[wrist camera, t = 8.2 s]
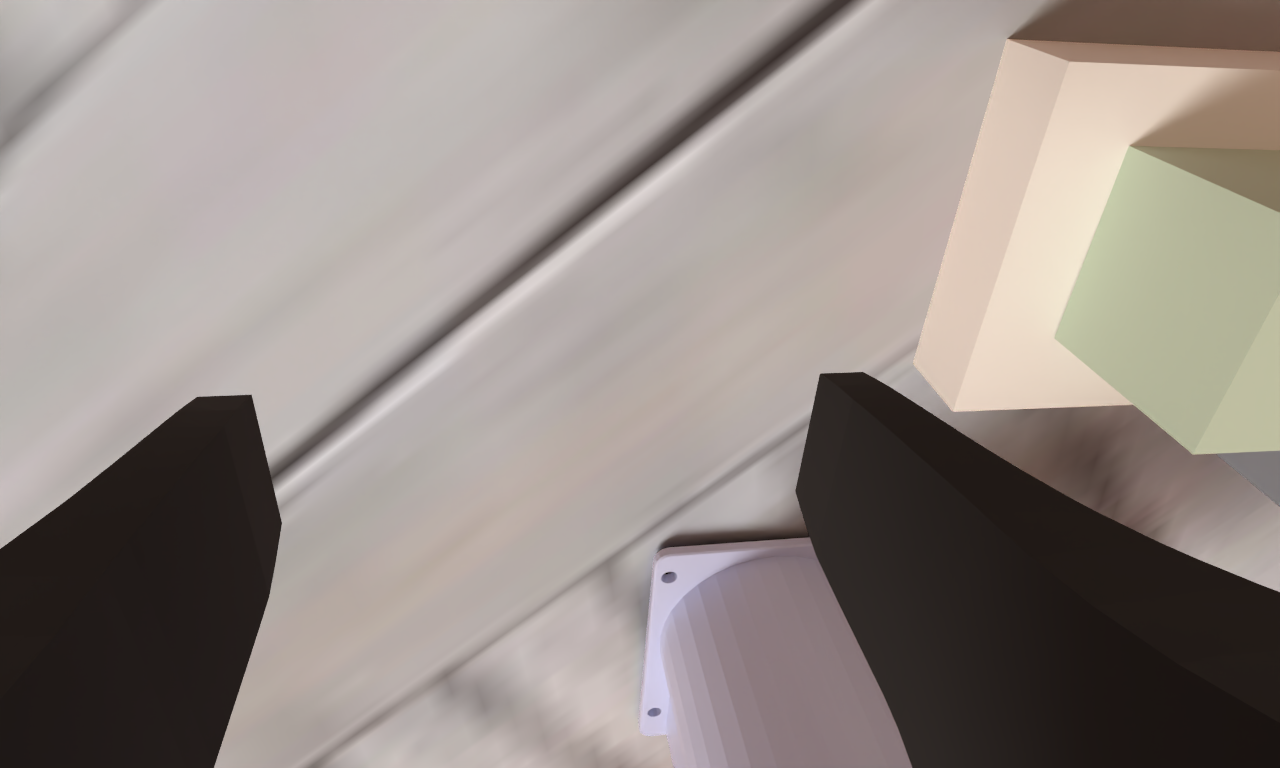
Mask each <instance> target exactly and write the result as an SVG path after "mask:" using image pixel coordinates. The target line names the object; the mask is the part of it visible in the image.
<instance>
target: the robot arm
mask: <svg viewBox="0 0 1280 768" xmlns="http://www.w3.org/2000/svg"><path fill="white" fill-rule="evenodd" d="M796 495H797V498H798V501H799V504H800V508H801V511H802V514H803V518H804V521H805V524H806V528H807V530H808V533H809V536H810V537H807V538H793V539H779V540H765V541H751V542H738V543H724V544H710V545H696V546H682V547H669V548H664V549H662V550H660V551H659V552H658V553H657V554H656V555H655V556H654V559H653V568H652V579H651V590H650V601H649V611H648V622H647V633H646V643H645V654H644V665H643V676H642V686H641V697H640V708H639V718H638V724H639V729H640V732H641V733H642V734H643V735H646V736H657V735H666V734H667V739H668V743H669V748H670V753H671V758H672V763H673V767H674V768H1280V592H1278V591H1275V590H1272V589H1270V588H1267V587H1264V586H1262V585H1259V584H1257V583H1254V582H1252V581H1249V580H1247V579H1245V578H1242V577H1240V576H1237V575H1235V574H1232V573H1230V572H1227V571H1225V570H1222V569H1220V568H1218V567H1215V566H1213V565H1210V564H1208V563H1205V562H1203V561H1200V560H1198V559H1196V558H1193V557H1191V556H1189V555H1186V554H1184V553H1182V552H1180V551H1177V550H1175V549H1173V548H1171V547H1168V546H1166V545H1164V544H1162V543H1159V542H1157V541H1155V540H1153V539H1151V538H1149V537H1147V536H1145V535H1143V534H1141V533H1139V532H1137V531H1135V530H1133V529H1130V528H1128V527H1126V526H1124V525H1122V524H1120V523H1118V522H1116V521H1114V520H1112V519H1110V518H1108V517H1106V516H1104V515H1102V514H1100V513H1098V512H1096V511H1094V510H1092V509H1090V508H1088V507H1086V506H1084V505H1082V504H1081V503H1079V502H1077V501H1075V500H1073V499H1071V498H1069V497H1068V496H1066V495H1064V494H1062V493H1061V492H1059V491H1057V490H1055V489H1054V488H1052V487H1050V486H1048V485H1046V484H1045V483H1043V482H1041V481H1039V480H1038V479H1036V478H1034V477H1032V476H1031V475H1029V474H1027V473H1025V472H1024V471H1022V470H1020V469H1019V468H1017V467H1015V466H1014V465H1012V464H1010V463H1009V462H1007V461H1005V460H1004V459H1002V458H1000V457H999V456H997V455H996V454H994V453H992V452H991V451H989V450H987V449H986V448H984V447H983V446H981V445H979V444H978V443H976V442H975V441H973V440H972V439H970V438H968V437H967V436H965V435H964V434H962V433H961V432H959V431H957V430H956V429H954V428H953V427H951V426H950V425H948V424H947V423H945V422H943V421H942V420H940V419H939V418H937V417H936V416H934V415H933V414H931V413H930V412H928V411H926V410H925V409H923V408H922V407H920V406H919V405H917V404H916V403H914V402H913V401H911V400H909V399H908V398H906V397H905V396H903V395H901V394H900V393H898V392H897V391H895V390H894V389H892V388H890V387H889V386H887V385H885V384H884V383H882V382H880V381H878V380H877V379H875V378H873V377H871V376H869V375H867V374H865V373H863V372H854V373H827V374H820V377H819V382H818V386H817V391H816V396H815V401H814V405H813V410H812V415H811V420H810V424H809V429H808V434H807V439H806V444H805V448H804V453H803V458H802V463H801V467H800V472H799V477H798V482H797V486H796ZM281 525H282V522H281V518H280V513H279V509H278V505H277V501H276V497H275V492H274V488H273V484H272V480H271V475H270V471H269V467H268V463H267V458H266V454H265V450H264V446H263V442H262V437H261V433H260V429H259V425H258V420H257V416H256V412H255V408H254V404H253V399H252V395H237V396H210V397H197V398H195V399H194V400H192V401H191V402H190V403H188V404H187V405H185V406H184V407H183V408H181V409H180V410H179V411H178V412H176V413H175V414H174V415H172V416H171V417H170V418H169V419H167V420H166V421H165V422H164V423H163V424H161V425H160V426H159V427H158V428H156V429H155V430H154V431H153V432H151V433H150V434H149V435H148V436H147V437H145V438H144V439H143V440H142V441H140V442H139V443H138V444H137V445H136V446H134V447H133V448H132V449H131V450H129V451H128V452H127V453H126V454H125V455H123V456H122V457H121V458H119V459H118V460H117V461H116V462H114V463H113V464H112V465H111V466H109V467H108V468H107V469H106V470H104V471H103V472H102V473H101V474H99V475H98V476H97V477H96V478H94V479H93V480H92V481H91V482H89V483H88V484H87V485H86V486H84V487H83V488H82V489H81V490H79V491H78V492H77V493H76V494H74V495H73V496H72V497H71V498H69V499H68V500H67V501H65V502H64V503H63V504H61V505H60V506H59V507H57V508H56V509H54V510H53V511H52V512H50V513H49V514H48V515H46V516H45V517H44V518H42V519H41V520H39V521H38V522H37V523H35V524H34V525H33V526H31V527H30V528H28V529H27V530H26V531H24V532H23V533H22V534H20V535H19V536H17V537H16V538H15V539H13V540H12V541H11V542H9V543H8V544H7V545H5V546H4V547H2V548H1V549H0V768H214V765H215V762H216V759H217V756H218V753H219V750H220V747H221V744H222V741H223V738H224V735H225V732H226V729H227V726H228V723H229V719H230V716H231V713H232V710H233V707H234V704H235V701H236V698H237V695H238V692H239V689H240V686H241V683H242V680H243V677H244V674H245V670H246V667H247V664H248V661H249V658H250V655H251V652H252V649H253V646H254V643H255V639H256V636H257V633H258V630H259V627H260V624H261V621H262V618H263V614H264V611H265V608H266V605H267V601H268V598H269V594H270V589H271V583H272V578H273V573H274V567H275V562H276V556H277V550H278V543H279V537H280V531H281ZM667 572H672V573H670V574H665V573H667Z"/></svg>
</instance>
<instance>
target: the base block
mask: <svg viewBox="0 0 1280 768" xmlns="http://www.w3.org/2000/svg"><path fill="white" fill-rule="evenodd" d="M1129 146H1150V147H1184V148H1218V149H1252V150H1280V52H1272V51H1251V50H1230V49H1209V48H1188V47H1166V46H1145V45H1124V44H1103V43H1081V42H1060V41H1039V40H1018V39H1007V40H1006V44H1005V47H1004V51H1003V54H1002V58H1001V61H1000V65H999V68H998V71H997V75H996V78H995V82H994V85H993V89H992V92H991V96H990V99H989V102H988V106H987V109H986V113H985V116H984V120H983V123H982V127H981V130H980V133H979V137H978V140H977V144H976V147H975V151H974V154H973V158H972V161H971V165H970V168H969V171H968V175H967V178H966V182H965V185H964V189H963V192H962V196H961V199H960V202H959V206H958V209H957V213H956V216H955V220H954V223H953V227H952V230H951V234H950V237H949V240H948V244H947V247H946V251H945V254H944V258H943V261H942V265H941V268H940V271H939V275H938V278H937V282H936V285H935V289H934V292H933V296H932V299H931V303H930V306H929V309H928V313H927V316H926V320H925V323H924V327H923V330H922V334H921V337H920V340H919V344H918V347H917V351H916V354H915V358H914V361H913V365H914V366H915V367H916V368H917V369H918V371H919V372H920V373H921V374H922V375H923V377H924V378H925V379H926V380H927V381H928V383H929V384H930V385H931V386H932V387H933V389H934V390H935V391H936V392H937V393H938V395H939V396H940V397H941V398H942V399H943V401H944V402H945V403H946V404H947V405H948V406H949V408H950V409H951V410H952V411H953V412H958V411H984V410H1010V409H1036V408H1062V407H1088V406H1114V405H1133V404H1132V403H1131V402H1130V401H1128V400H1127V399H1126V398H1125V397H1124V396H1122V395H1121V394H1120V393H1119V392H1118V391H1117V390H1115V389H1114V388H1113V387H1112V386H1111V385H1109V384H1108V383H1107V382H1106V381H1105V380H1103V379H1102V378H1101V377H1100V376H1099V375H1097V374H1096V373H1095V372H1094V371H1093V370H1091V369H1090V368H1089V367H1088V366H1087V365H1086V364H1084V363H1083V362H1082V361H1081V360H1080V359H1078V358H1077V357H1076V356H1075V355H1074V354H1072V353H1071V352H1070V351H1069V350H1068V349H1066V348H1065V347H1064V346H1063V345H1062V344H1060V343H1059V342H1058V341H1057V340H1056V339H1055V335H1056V332H1057V330H1058V327H1059V325H1060V322H1061V319H1062V317H1063V314H1064V312H1065V309H1066V307H1067V304H1068V301H1069V299H1070V296H1071V294H1072V291H1073V289H1074V286H1075V283H1076V281H1077V278H1078V276H1079V273H1080V270H1081V268H1082V265H1083V263H1084V260H1085V258H1086V255H1087V252H1088V250H1089V247H1090V245H1091V242H1092V240H1093V237H1094V234H1095V232H1096V229H1097V227H1098V224H1099V222H1100V219H1101V216H1102V214H1103V211H1104V209H1105V206H1106V203H1107V201H1108V198H1109V196H1110V193H1111V191H1112V188H1113V185H1114V183H1115V180H1116V178H1117V175H1118V173H1119V170H1120V167H1121V165H1122V162H1123V160H1124V157H1125V154H1126V152H1127V149H1128V147H1129Z"/></svg>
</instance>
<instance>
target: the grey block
mask: <svg viewBox="0 0 1280 768" xmlns="http://www.w3.org/2000/svg"><path fill="white" fill-rule="evenodd" d="M1216 455H1218V456H1219V457H1220V458H1221V459H1223V460H1224V461H1225V462H1226V463H1227V464H1229V465H1230V466H1231V467H1232V468H1233V469H1235V470H1236V471H1237V472H1238V473H1240V474H1241V475H1242V476H1243V477H1244V478H1246V479H1247V480H1248V481H1249V482H1250V483H1252V484H1253V485H1254V486H1255V487H1256V488H1258V489H1259V490H1260V491H1261V492H1263V493H1264V494H1265V495H1266V496H1267V497H1269V498H1270V499H1271V500H1272V501H1273V502H1275V503H1276V504H1277V505H1278V506H1280V451H1261V452H1239V453H1217V454H1216Z"/></svg>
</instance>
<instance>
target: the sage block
mask: <svg viewBox="0 0 1280 768" xmlns="http://www.w3.org/2000/svg"><path fill="white" fill-rule="evenodd" d="M1055 339H1056V340H1057V341H1058V342H1059V343H1060V344H1062V345H1063V346H1064V347H1065V348H1066V349H1068V350H1069V351H1070V352H1071V353H1072V354H1074V355H1075V356H1076V357H1077V358H1078V359H1080V360H1081V361H1082V362H1083V363H1084V364H1086V365H1087V366H1088V367H1089V368H1090V369H1091V370H1093V371H1094V372H1095V373H1096V374H1097V375H1099V376H1100V377H1101V378H1102V379H1103V380H1105V381H1106V382H1107V383H1108V384H1109V385H1111V386H1112V387H1113V388H1114V389H1115V390H1117V391H1118V392H1119V393H1120V394H1121V395H1122V396H1124V397H1125V398H1126V399H1127V400H1128V401H1130V402H1131V403H1132V404H1133V405H1134V406H1136V407H1137V408H1138V409H1139V410H1140V411H1142V412H1143V413H1144V414H1145V415H1146V416H1148V417H1149V418H1150V419H1151V420H1152V421H1153V422H1155V423H1156V424H1157V425H1158V426H1159V427H1161V428H1162V429H1163V430H1164V431H1165V432H1167V433H1168V434H1169V435H1170V436H1171V437H1173V438H1174V439H1175V440H1176V441H1177V442H1179V443H1180V444H1181V445H1182V446H1183V447H1185V448H1186V449H1187V450H1188V451H1189V452H1190V453H1192V454H1193V455H1195V454H1217V453H1239V452H1261V451H1280V150H1252V149H1218V148H1184V147H1150V146H1129V147H1128V149H1127V152H1126V154H1125V157H1124V160H1123V162H1122V165H1121V167H1120V170H1119V173H1118V175H1117V178H1116V180H1115V183H1114V185H1113V188H1112V191H1111V193H1110V196H1109V198H1108V201H1107V203H1106V206H1105V209H1104V211H1103V214H1102V216H1101V219H1100V222H1099V224H1098V227H1097V229H1096V232H1095V234H1094V237H1093V240H1092V242H1091V245H1090V247H1089V250H1088V252H1087V255H1086V258H1085V260H1084V263H1083V265H1082V268H1081V270H1080V273H1079V276H1078V278H1077V281H1076V283H1075V286H1074V289H1073V291H1072V294H1071V296H1070V299H1069V301H1068V304H1067V307H1066V309H1065V312H1064V314H1063V317H1062V319H1061V322H1060V325H1059V327H1058V330H1057V332H1056V335H1055Z"/></svg>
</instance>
